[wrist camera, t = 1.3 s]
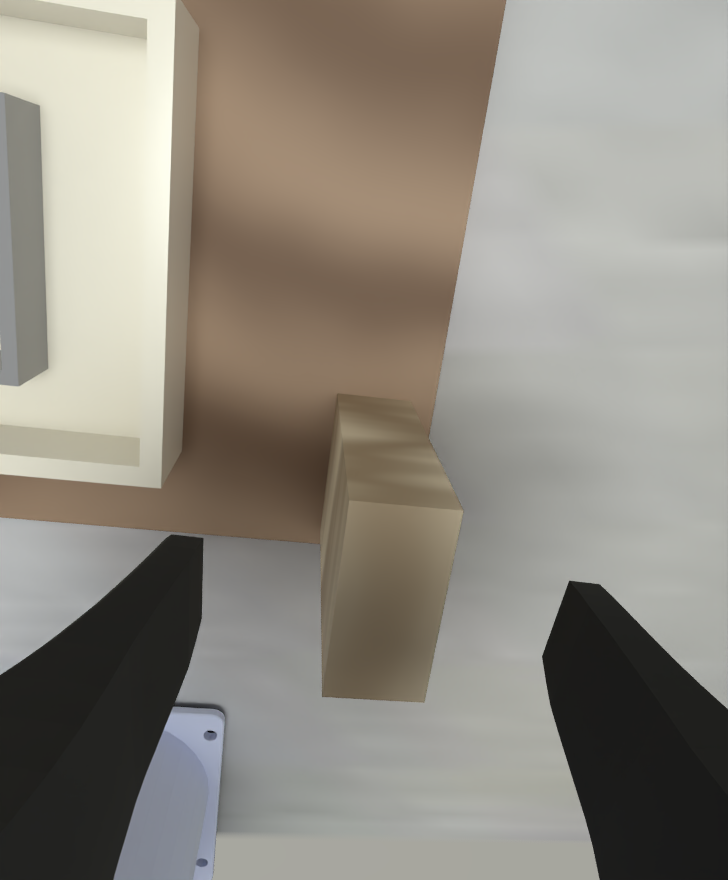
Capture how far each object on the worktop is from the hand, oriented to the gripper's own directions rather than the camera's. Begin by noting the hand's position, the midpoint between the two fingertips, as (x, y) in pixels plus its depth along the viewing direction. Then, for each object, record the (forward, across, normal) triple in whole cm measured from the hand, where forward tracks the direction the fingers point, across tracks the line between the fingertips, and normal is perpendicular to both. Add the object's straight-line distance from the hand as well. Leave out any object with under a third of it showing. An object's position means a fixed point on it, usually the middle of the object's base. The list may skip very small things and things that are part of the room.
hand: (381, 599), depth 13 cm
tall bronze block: (+9, 0, +2) cm, 9 cm away
